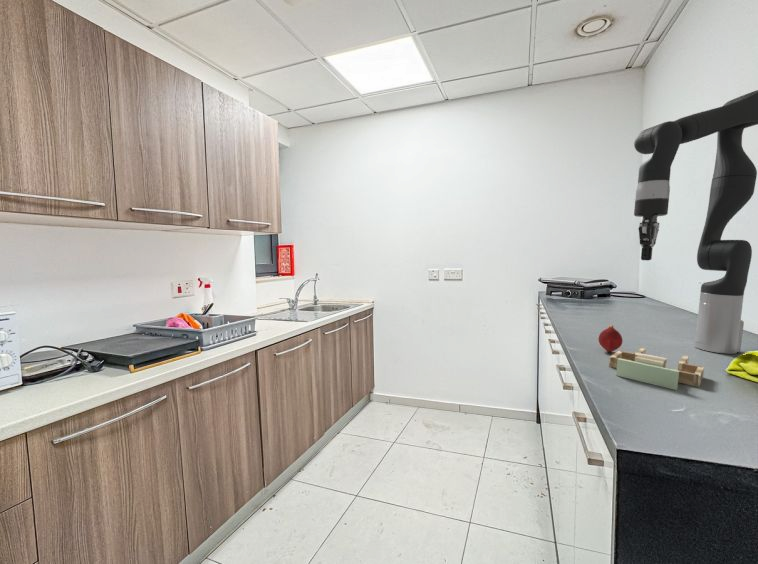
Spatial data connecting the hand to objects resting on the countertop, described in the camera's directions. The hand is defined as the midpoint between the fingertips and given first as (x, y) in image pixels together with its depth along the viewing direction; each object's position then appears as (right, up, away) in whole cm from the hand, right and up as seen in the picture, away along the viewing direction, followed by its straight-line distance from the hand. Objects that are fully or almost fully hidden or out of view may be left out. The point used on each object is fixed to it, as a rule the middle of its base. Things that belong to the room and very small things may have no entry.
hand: (646, 260), depth 99 cm
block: (-14, -29, -18) cm, 37 cm away
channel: (-8, -28, -13) cm, 32 cm away
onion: (-9, -27, +2) cm, 29 cm away
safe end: (-16, -29, -21) cm, 39 cm away
